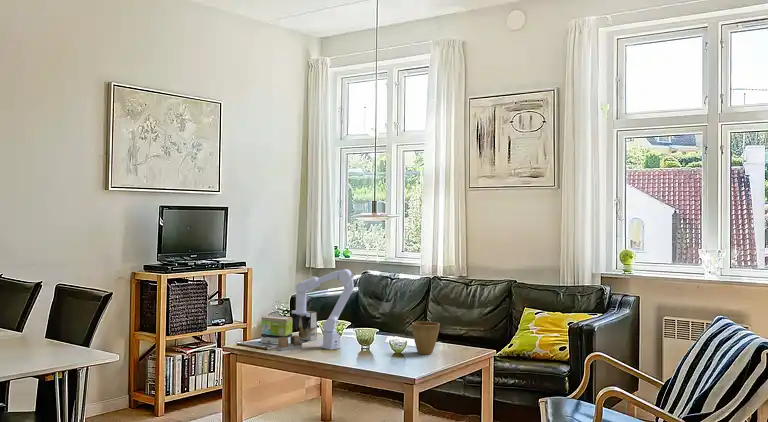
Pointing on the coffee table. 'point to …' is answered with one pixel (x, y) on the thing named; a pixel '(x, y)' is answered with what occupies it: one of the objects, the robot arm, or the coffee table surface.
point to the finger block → (294, 340)
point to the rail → (290, 346)
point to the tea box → (275, 328)
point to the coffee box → (309, 328)
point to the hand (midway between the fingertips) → (300, 328)
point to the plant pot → (425, 336)
